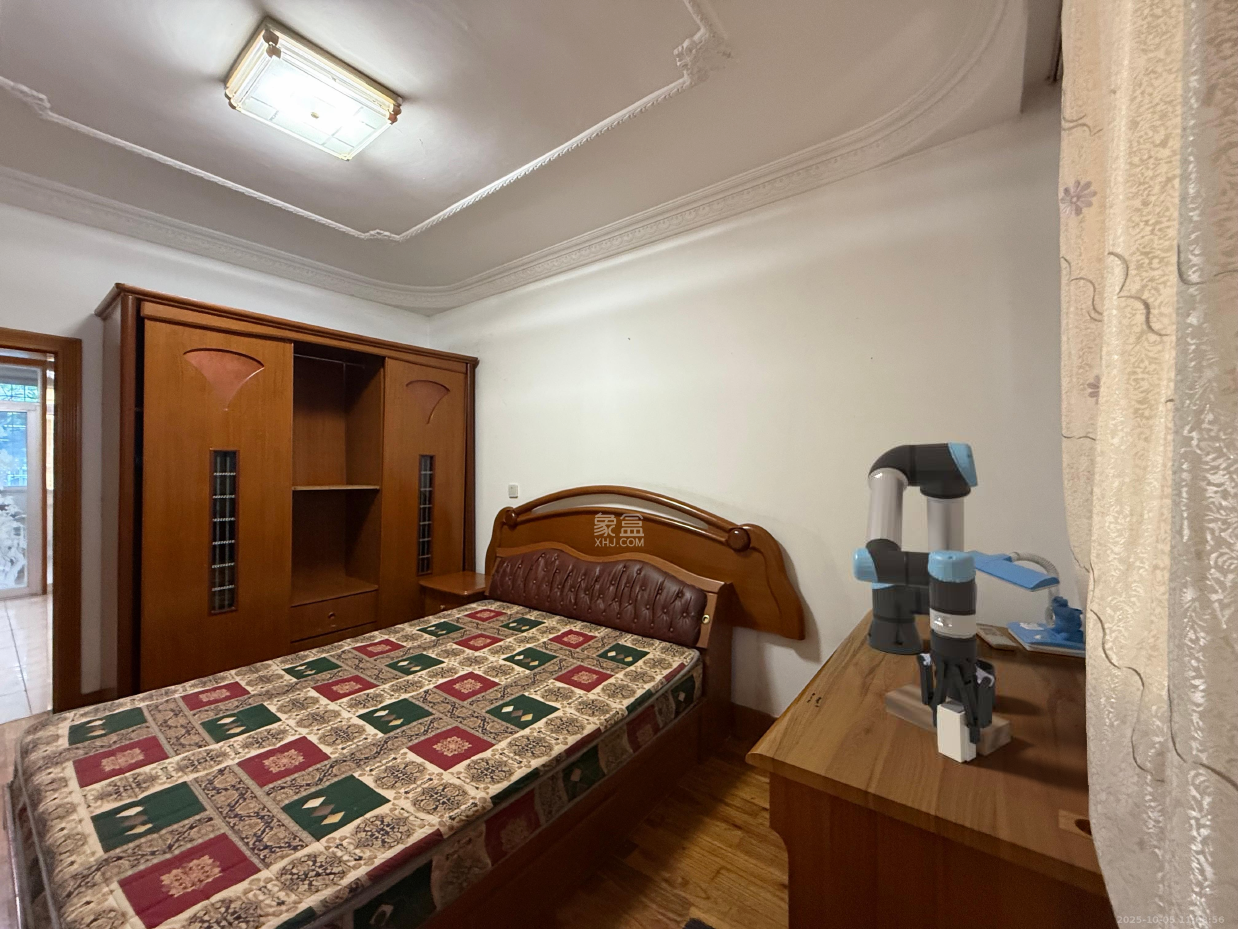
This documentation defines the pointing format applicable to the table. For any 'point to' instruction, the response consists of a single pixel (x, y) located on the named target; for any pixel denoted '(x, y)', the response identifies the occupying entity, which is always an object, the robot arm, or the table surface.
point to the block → (951, 729)
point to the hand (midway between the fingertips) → (956, 751)
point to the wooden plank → (914, 711)
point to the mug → (986, 667)
